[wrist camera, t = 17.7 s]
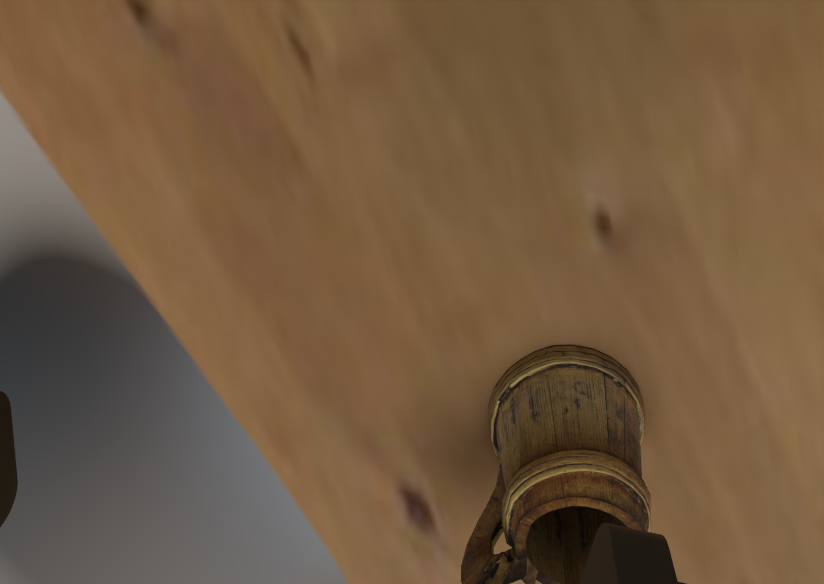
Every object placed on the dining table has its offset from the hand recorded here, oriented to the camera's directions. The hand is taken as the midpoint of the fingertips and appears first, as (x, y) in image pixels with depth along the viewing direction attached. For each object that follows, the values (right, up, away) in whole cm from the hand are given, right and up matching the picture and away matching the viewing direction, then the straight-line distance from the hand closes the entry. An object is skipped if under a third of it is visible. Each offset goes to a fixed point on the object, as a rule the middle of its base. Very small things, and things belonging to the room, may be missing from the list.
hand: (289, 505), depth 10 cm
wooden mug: (+9, -5, +34) cm, 36 cm away
